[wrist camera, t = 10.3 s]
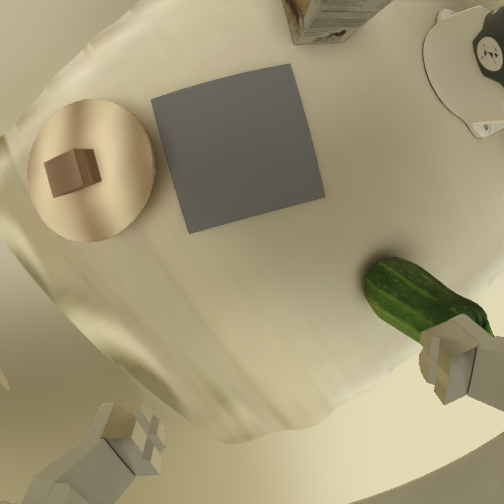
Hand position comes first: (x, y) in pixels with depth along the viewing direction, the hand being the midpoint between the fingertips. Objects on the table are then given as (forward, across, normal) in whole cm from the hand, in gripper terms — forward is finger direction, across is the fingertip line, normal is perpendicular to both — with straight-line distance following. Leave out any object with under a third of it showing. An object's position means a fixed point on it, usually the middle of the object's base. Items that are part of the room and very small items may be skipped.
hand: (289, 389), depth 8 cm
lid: (+21, +13, -9) cm, 26 cm away
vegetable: (+28, -14, +12) cm, 33 cm away
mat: (+27, -1, -7) cm, 28 cm away
